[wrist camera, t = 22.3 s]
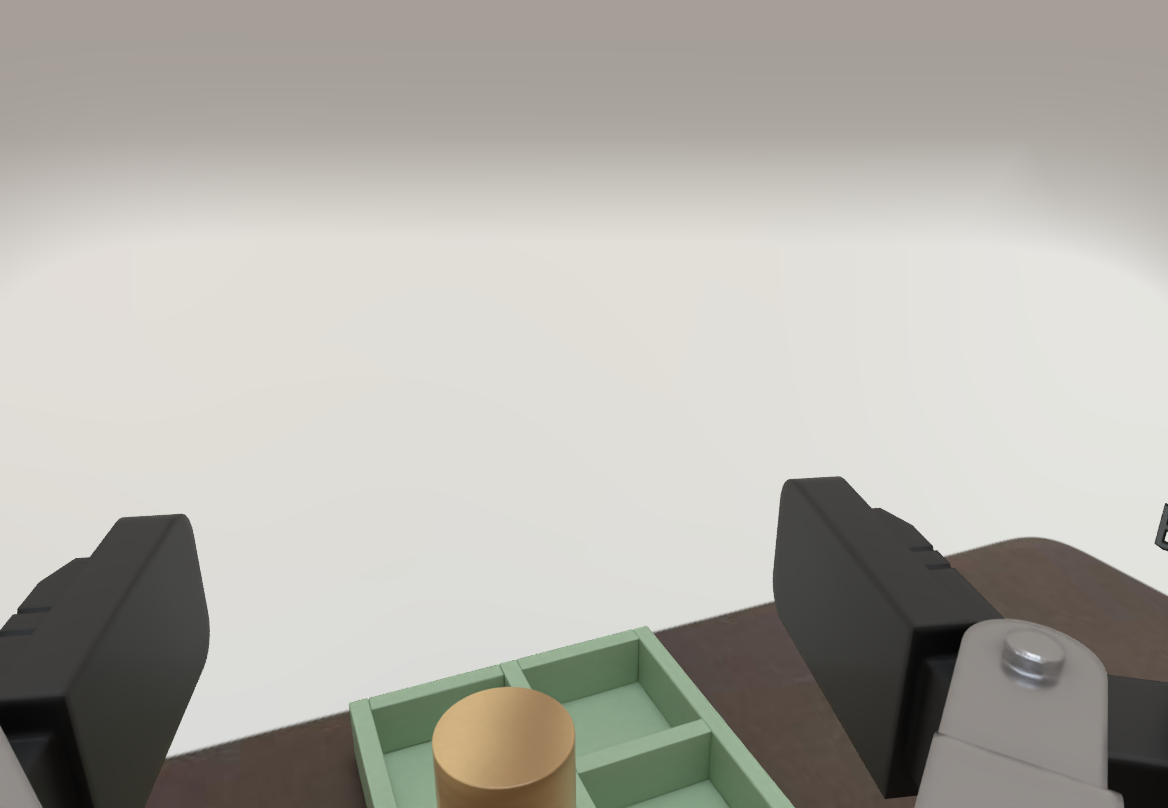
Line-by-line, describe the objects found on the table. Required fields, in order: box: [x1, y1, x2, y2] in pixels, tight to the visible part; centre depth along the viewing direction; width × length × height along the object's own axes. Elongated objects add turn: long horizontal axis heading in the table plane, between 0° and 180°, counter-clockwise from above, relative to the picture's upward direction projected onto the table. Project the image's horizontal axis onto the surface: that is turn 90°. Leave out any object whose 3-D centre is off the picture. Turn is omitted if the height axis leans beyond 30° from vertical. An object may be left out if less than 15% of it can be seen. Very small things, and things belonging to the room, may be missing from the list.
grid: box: [349, 626, 795, 808], centre depth 33 cm, size 14×14×3 cm
